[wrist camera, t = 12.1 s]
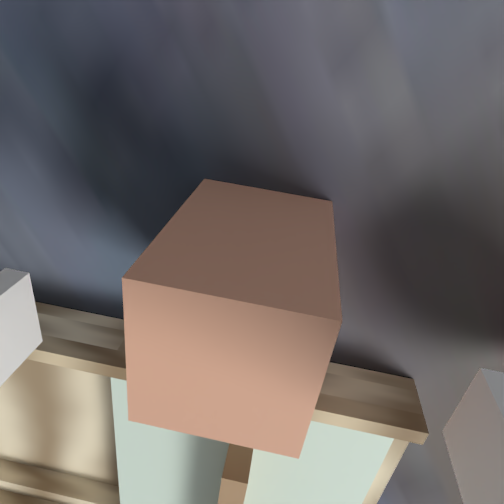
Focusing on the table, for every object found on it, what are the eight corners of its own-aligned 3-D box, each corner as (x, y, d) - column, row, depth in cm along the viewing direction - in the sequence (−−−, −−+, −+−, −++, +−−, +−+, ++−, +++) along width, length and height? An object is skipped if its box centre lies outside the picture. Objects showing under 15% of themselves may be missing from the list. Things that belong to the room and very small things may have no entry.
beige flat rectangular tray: (-43, 451, 30) (-79, 492, 28) (-117, 270, 22) (-179, 303, 19) (336, 540, 28) (338, 594, 26) (413, 379, 20) (428, 433, 17)
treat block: (197, 283, 19) (128, 420, 12) (204, 178, 17) (122, 277, 10) (306, 305, 19) (298, 458, 12) (331, 201, 16) (341, 321, 9)
